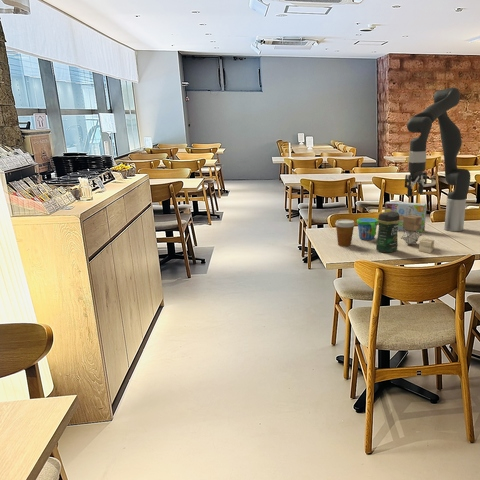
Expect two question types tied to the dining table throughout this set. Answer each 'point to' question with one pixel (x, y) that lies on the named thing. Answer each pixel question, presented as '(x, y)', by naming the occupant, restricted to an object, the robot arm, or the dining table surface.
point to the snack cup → (367, 228)
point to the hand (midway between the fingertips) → (415, 195)
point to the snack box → (407, 212)
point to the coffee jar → (387, 232)
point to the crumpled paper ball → (410, 236)
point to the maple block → (426, 245)
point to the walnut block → (412, 222)
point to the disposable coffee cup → (344, 231)
